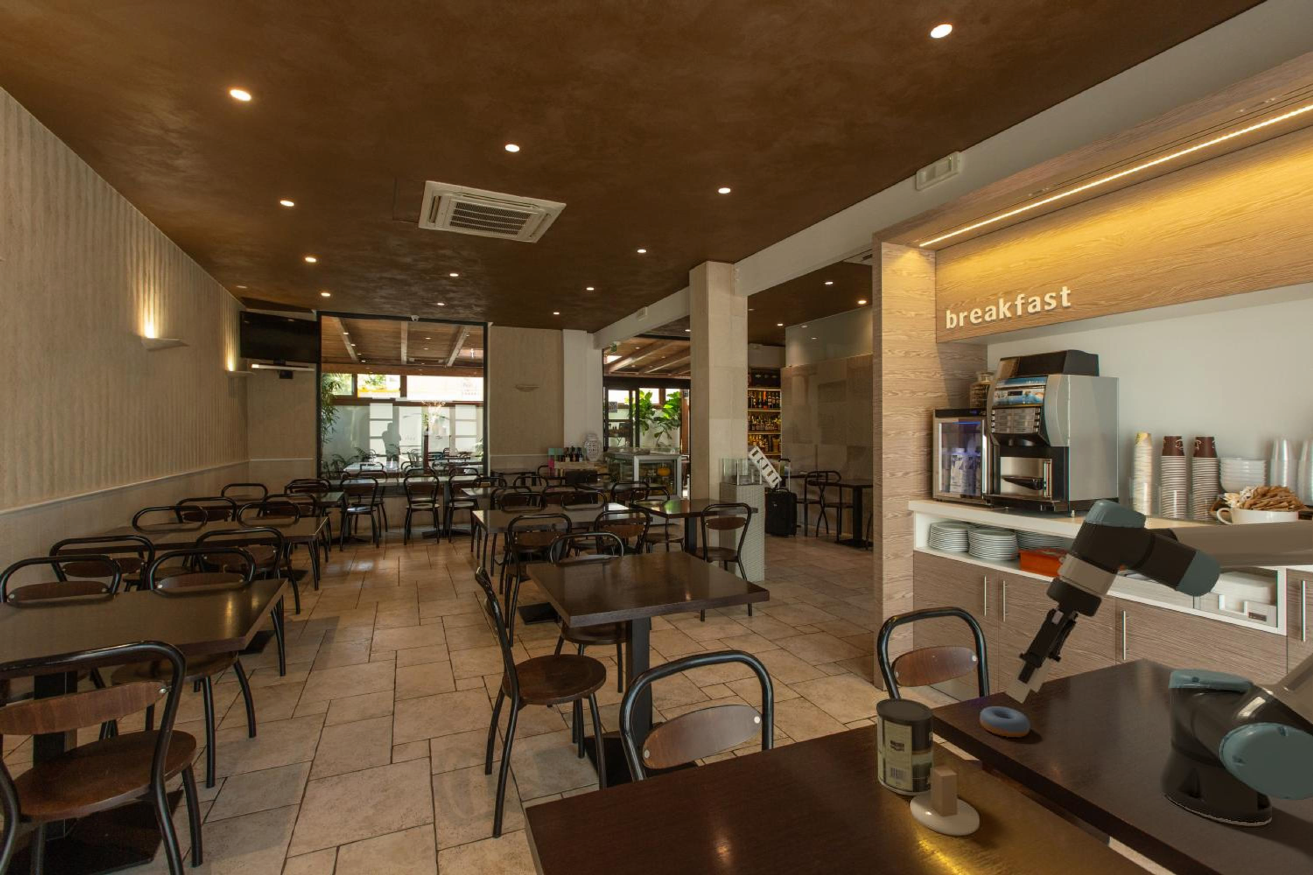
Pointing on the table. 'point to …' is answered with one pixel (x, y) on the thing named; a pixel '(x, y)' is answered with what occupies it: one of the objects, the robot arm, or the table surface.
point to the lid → (944, 806)
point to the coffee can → (905, 746)
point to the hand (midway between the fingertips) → (1022, 692)
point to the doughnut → (1004, 721)
